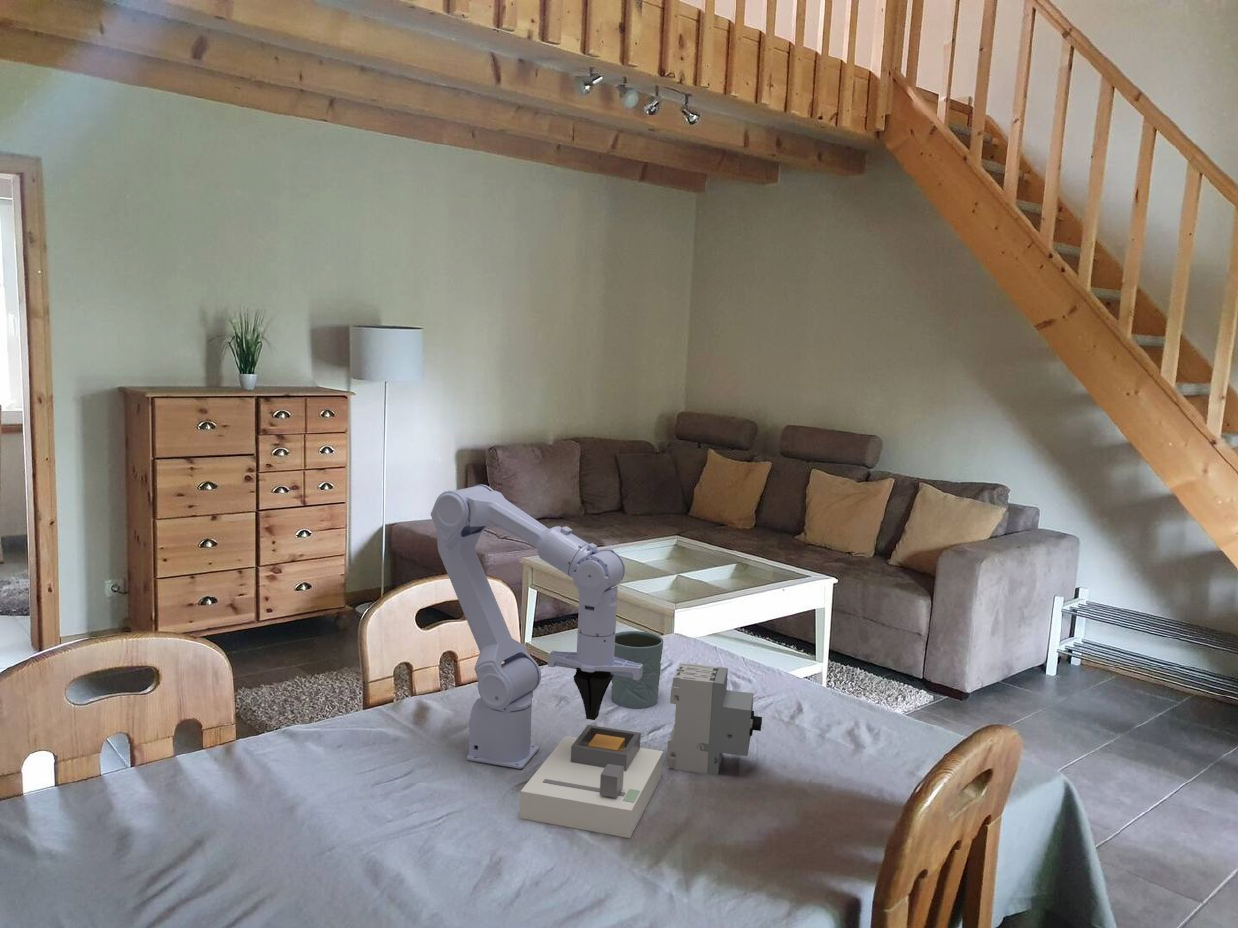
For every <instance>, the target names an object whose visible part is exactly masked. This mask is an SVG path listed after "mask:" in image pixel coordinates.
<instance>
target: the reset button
mask: <svg viewBox="0 0 1238 928" xmlns="http://www.w3.org/2000/svg"><path fill="white" fill-rule="evenodd" d="M588 747H593V748H600V749H606V750H612V751H619V752H623V751H624V748H625V738H620V737H614V736H608V735H601V734H596V735H595V736H594V738H593V739H592V740H591V742H590V743H589V745H588Z"/></svg>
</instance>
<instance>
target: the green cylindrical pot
mask: <svg viewBox="0 0 1238 928" xmlns="http://www.w3.org/2000/svg"><path fill="white" fill-rule="evenodd" d="M663 647H664V639H663V637H661V636H660V635H658V634H655V633H652V632H649V631H641V630H639V631H638V630H626V631H625V630H624V631H620V632H619V631H618V632H615V651H614V657H617V658H620V659H624V660H627V661H631V662H634V663H639V664H643V672H642V677H641V678H640V680H633V679H632V678H631V677H624V676H618V675H614V676H613V678H612V680H611V682H610V683H611V699H612V702H613V703H614V704H615V705H617V706H619V707H622V708H627V709H634V710H635V709H636V710H638V709H641V710H642V709H647V708H652V707H653V706H655V705H656V704H657V702H658V700H659V699H658V697H659V687H660V679H661V668H662V667H661V666H662V663H661V662H662V655H663Z"/></svg>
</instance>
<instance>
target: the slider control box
mask: <svg viewBox="0 0 1238 928" xmlns="http://www.w3.org/2000/svg"><path fill="white" fill-rule="evenodd" d="M596 734H601V735H608V736H614V737H620V738H625V748H624V751H623V752H619V751H612V750H606V749H600V748H593V747H588V745H589V743H590V742H591V740H592V739H593V738H594V736H595V735H596ZM641 735H642V734H641V732H637V731H632V730H631V731H630V730H623V729H618V728H612V727H605V726H598V725H591V724H587V725H586V726H585V728H584V729H583V731H581V733H580V734H579V736H578V737H574V736H569V735H568V736H567V735H565V736H564V737H563V738H562V740H561V741H560V742H559V743H558V745H557V746H556V747H555V748H554V749H553V750H552V752H551V753H550V754H549V756H548V757H547V758H546V759H545V760H544V761H543V763H542V764H541V765H540V766H539V768H538V769H537V770H536V772H535V773H534V774H533V775H532V777H530V779H529V780H528V781H527V783H525V785H524V786H523V787H522V789H520V799H519V800H520V801H519V819H523V820H529V821H532V822H533V821H534V822H539V823H544V824H551V825H555V826H556V825H557V826H562V827H567V828H572V829H577V830H584V831H588V832H594V833H600V834H605V835H610V836H615V837H621V838H626V839H631V838H632V835H633V833H634V831H635V829H636V827H637V826H638V824H639V821H640V820H641V817H642V815H643V813H644V812H645V810H646V807H647V805H648V804H649V802H650V800H651V798H652V796H653V794H654V792H655V790H656V788H657V786H658V784H659V782H660V780H661V779H662V776H663V766H664V765H663V764H664V763H663V762H664V751H663V750H657V749H651V748H644V747H641ZM607 764H613V765H619V766H624V776H623V787H622V789H621V791H620V792H619V794H618V796H617V797H616V798H615V797H609V796H603V795H600V777H601V773H602V772H603V770H604V769H605V767H606V766H607Z"/></svg>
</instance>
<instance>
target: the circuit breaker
mask: <svg viewBox="0 0 1238 928" xmlns="http://www.w3.org/2000/svg"><path fill="white" fill-rule="evenodd" d="M728 672H729V668H728V667H721V666H715V665H714V666H713V665H705V664H696V663H688V662H686V663H682V662H679V663H678V666H677V668H676V670H675V673H674V675H673V678H672V684H671V688H670V700H669V703H670V704H672V705H675V714H674V716H675V717H674V724H673V727H672V729H671V733H670V734H669V737H668V740H667V754H666V769H667V770H668V769H669V770H670V769H674V770H676V771H682V772H689V773H690V772H691V773H698V774H705V775H714V776H718V775H719V771H720V768H721V763H722V759H723V758H722V757H723V754H727V755H735V756H744V757H748V755H749V749H750V744H751V738H752V736H753V731H757V732H758V731H759V732H761V731H762V725H763V716H758V715H755V711H754V709H753V708H754V693H753V692H748V691H747V692H746V691H738V690H729V689H728V688H727V687H728V675H729V674H728Z"/></svg>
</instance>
